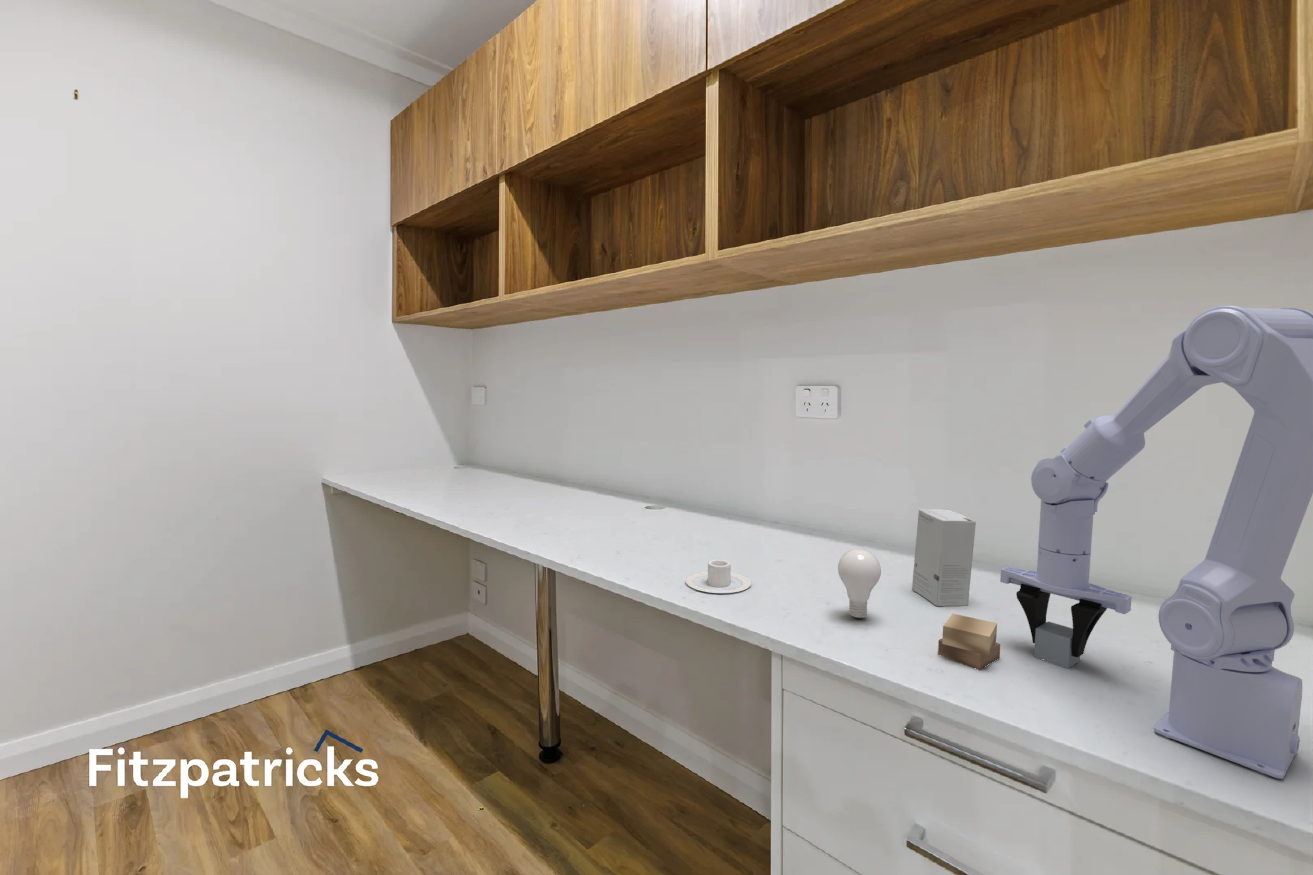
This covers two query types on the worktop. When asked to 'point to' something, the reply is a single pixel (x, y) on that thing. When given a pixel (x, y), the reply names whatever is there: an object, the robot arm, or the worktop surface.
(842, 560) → the lightbulb
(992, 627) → the upper tile
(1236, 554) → the robot arm
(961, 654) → the lower tile
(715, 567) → the candle holder
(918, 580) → the skincare box
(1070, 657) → the cube
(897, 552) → the worktop surface
